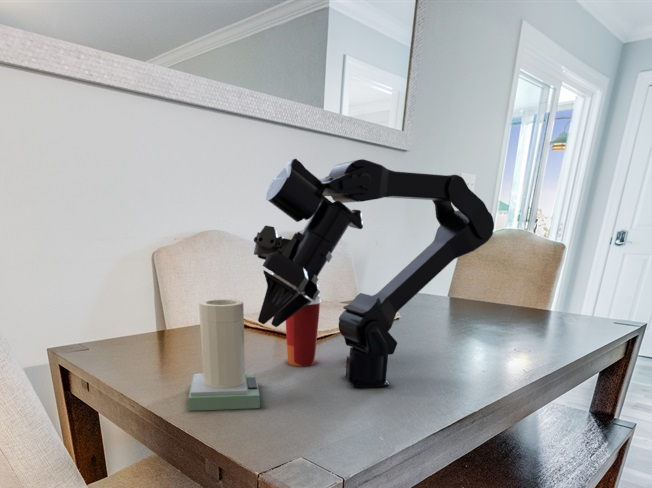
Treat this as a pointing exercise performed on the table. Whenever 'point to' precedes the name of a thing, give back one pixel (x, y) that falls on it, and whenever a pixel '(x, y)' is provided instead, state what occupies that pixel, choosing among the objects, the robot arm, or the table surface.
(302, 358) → the paper cup
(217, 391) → the scale
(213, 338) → the canister
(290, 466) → the table surface
